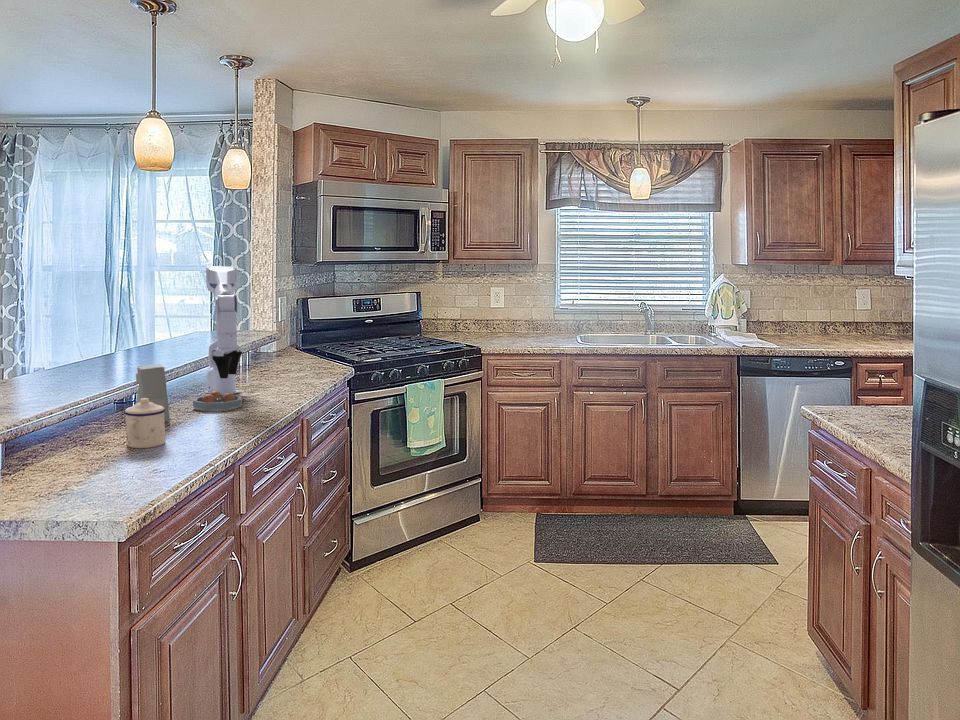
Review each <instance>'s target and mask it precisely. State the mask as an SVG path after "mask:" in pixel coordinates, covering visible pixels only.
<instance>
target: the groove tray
mask: <svg viewBox="0 0 960 720" xmlns="http://www.w3.org/2000/svg"><path fill="white" fill-rule="evenodd" d="M204 396H205V395H202V396H197V397H194V399H193V400H192V407H193V409H194V408H195V409H194V410H196V411H199V410H201V411H200V412H226V411H225V410H227V411H232V410H231V409H233V410H237V409H239V407H240V408H241V407H242V404H243V403H242V402H243V399H242V397H243V396H241V395H235V394H234V396H235V400H233V401H228V402H223V396H224V394H221V398H215V403H206V402H202V398H203V397H204ZM236 408H237V409H236Z"/></svg>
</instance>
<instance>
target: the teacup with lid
mask: <svg viewBox="0 0 960 720" xmlns="http://www.w3.org/2000/svg"><path fill="white" fill-rule="evenodd" d="M164 411H165V409H164V407H163V406H160V405H156V404H154V403H152V402H149V399H148V398H142V399H140V403H138V402H137V403H135V404H134V405H132V406H129V407H127V408H126V409H125V410H124V413H123V414H124V415H125V425H126V426H125V428H126V429H125V432H126V445H127V446H128V447H129V448H131V449H133V448H134V449H150V448H155V447H159V446H161V445H164V444H165V443H166V433H165V432H166V426H165V421H164Z"/></svg>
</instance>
